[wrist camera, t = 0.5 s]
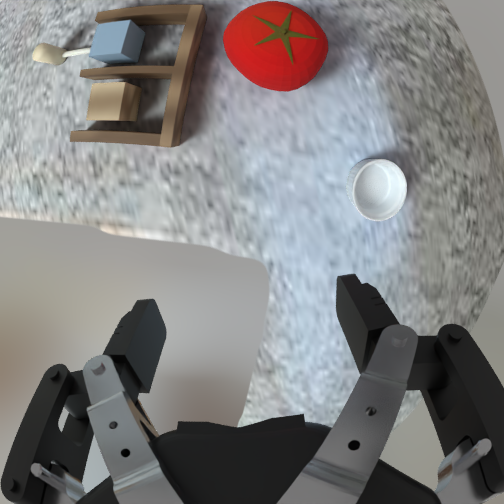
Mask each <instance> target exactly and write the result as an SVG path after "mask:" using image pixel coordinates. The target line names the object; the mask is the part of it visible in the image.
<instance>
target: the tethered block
mask: <svg viewBox="0 0 504 504" xmlns="http://www.w3.org/2000/svg"><path fill="white" fill-rule="evenodd" d="M144 37H145V32H144V31H143V30H142V29H140V28H139V27H138V26H137V25H136V24H135V23H133V22H132V21H131V20H125V21H117V22H109V23H103V24H98V26H97V29H96V32H95V35H94V39H93V42H92V46H91V47H89V48H83V49H77V50H72V51H67V50H66V49H63V48H60V47H56V46H53V45H50V44H46V43H41V44H39V45H38V46H37V47H36V48H35V50H34V52H33V60H34V61H39V62H44V63H49V64H54V65H60V64H62V63H63V62H64V61H65V59H66V57H69V56H75V55H81V54H88V53H89V57H91V58H94V59H97V60H99V61H102V62H104V63H107V64H116V63H138V59H139V55H140V51H141V47H142V44H143V40H144Z"/></svg>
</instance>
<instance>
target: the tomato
mask: <svg viewBox="0 0 504 504" xmlns="http://www.w3.org/2000/svg"><path fill="white" fill-rule="evenodd" d="M223 42H224V47H225V51H226V53H227V56H228V58H229V59H230V61H231V63H232V64H233V65H234V66H235V67H236V68H237V70H238V71H239V72H241V73H242V74H243V75H244V76H245V77H246V78H247V79H249V80H250V81H251V82H253V83H255V84H257V85H259V86H261V87H263V88H267V89H270V90H276V91H292V90H295V89H298V88H300V87H302V86H303V85H305V84H307V83H308V82H309V81H310V80H311V79H313V78H314V77H315V75H316V74H317V72H318V71H319V70H320V68H321V66H322V65H323V63H324V61H325V59H326V55H327V52H328V41H327V38H326V35H325V33H324V32H323V30H322V29H321V27H320V26H319V25H318V23H317V22H316V21H315V20H314V19H313V18H312V17H310V16H309V15H308V14H307V13H305V12H304V11H302V10H301V9H299V8H297V7H295V6H293V5H290V4H288V3H284V2H279V1H267V2H262V3H258V4H255V5H252V6H250V7H248V8H246V9H244V10H243V11H241V12H240V13H239V14H238V15H237V16H235V17H234V18H233V19H232V21H231V22H230V23H229V24H228V26H227V28H226V29H225V31H224V36H223Z"/></svg>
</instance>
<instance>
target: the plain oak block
mask: <svg viewBox="0 0 504 504" xmlns="http://www.w3.org/2000/svg"><path fill="white" fill-rule="evenodd" d="M141 91H142V88H140V87H138V86H135V85H132V84H129V83H127V82H112V83H95V84H92V89H91V94H90V100H89V106H88V112H87V119H86V120H117V121H136V120H137V113H138V107H139V102H140V96H141Z"/></svg>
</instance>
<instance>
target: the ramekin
mask: <svg viewBox="0 0 504 504" xmlns="http://www.w3.org/2000/svg"><path fill="white" fill-rule="evenodd" d="M346 191H347V195H348V197H349V199H350V201H351V202H352V204H353V205H354V206H355V207H356V209H357V210H358V212H359V213H360V214H361V215H362V216H363V217H365V218H367V219H369V220H372V221H384V220H387V219H389V218H391V217H393V216H394V215H395V214H396V213H398V211H399V210H400V209H401V207H402V205H403V203H404V201H405V198H406V194H407V183H406V178H405V176H404V174H403V172H402V170H401V169H400V168H399V167H398V166H397V165H396V164H395V163H393V162H391V161H389V160H385V159H367V160H363V161H360V162H359V163H357V164H356V165H355V166H354V167H353V168H352V169H351V171H350V172H349V175H348V178H347V182H346Z"/></svg>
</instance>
